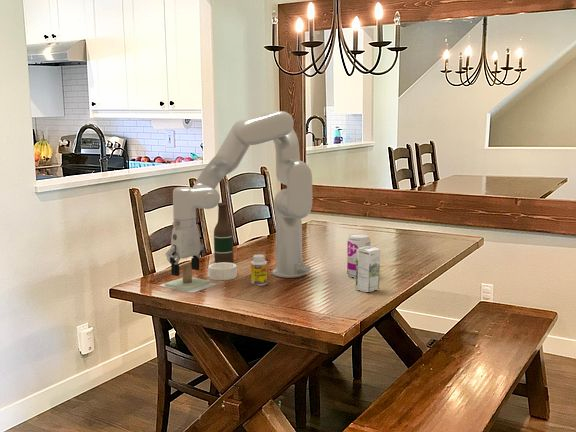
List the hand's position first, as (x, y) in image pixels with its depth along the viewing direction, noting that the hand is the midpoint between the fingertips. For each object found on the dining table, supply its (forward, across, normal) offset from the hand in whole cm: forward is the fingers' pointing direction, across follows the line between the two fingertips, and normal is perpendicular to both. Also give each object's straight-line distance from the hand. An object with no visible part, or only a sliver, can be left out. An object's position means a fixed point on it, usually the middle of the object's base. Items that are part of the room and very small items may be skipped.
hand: (185, 272), depth 212 cm
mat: (+5, 0, 0) cm, 5 cm away
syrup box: (+4, +30, -54) cm, 62 cm away
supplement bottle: (+5, +16, -19) cm, 26 cm away
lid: (+4, 0, 0) cm, 4 cm away
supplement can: (+4, +44, -43) cm, 62 cm away
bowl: (+5, +16, -3) cm, 17 cm away
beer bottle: (+5, +34, +12) cm, 36 cm away
